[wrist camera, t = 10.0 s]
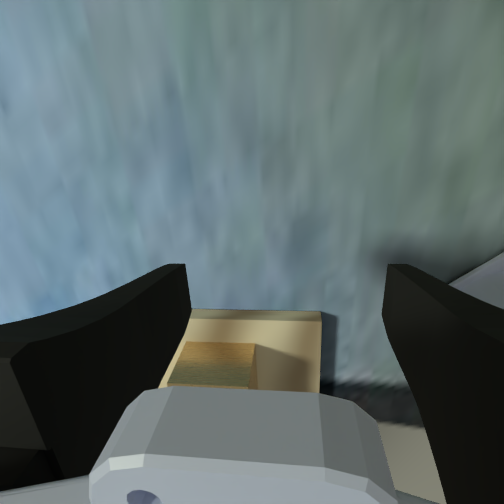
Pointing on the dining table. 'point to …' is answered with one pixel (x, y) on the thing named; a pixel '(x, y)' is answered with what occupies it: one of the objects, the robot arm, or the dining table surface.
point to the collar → (216, 366)
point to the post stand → (264, 344)
